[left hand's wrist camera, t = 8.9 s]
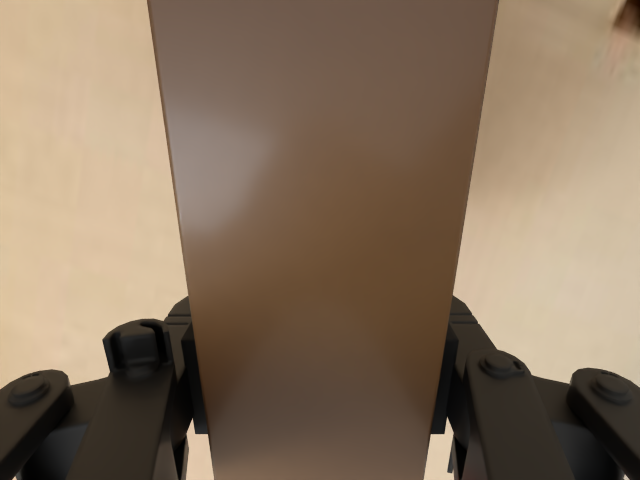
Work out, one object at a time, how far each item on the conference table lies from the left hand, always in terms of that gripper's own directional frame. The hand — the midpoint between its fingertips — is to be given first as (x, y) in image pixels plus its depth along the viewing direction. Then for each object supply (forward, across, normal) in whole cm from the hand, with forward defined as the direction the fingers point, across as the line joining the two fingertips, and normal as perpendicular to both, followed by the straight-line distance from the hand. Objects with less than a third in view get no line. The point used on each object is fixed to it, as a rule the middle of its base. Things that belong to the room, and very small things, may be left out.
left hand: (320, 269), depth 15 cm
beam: (0, 0, -21) cm, 21 cm away
